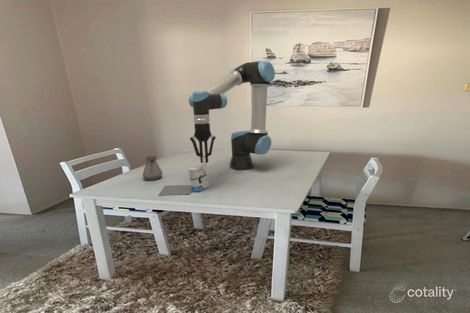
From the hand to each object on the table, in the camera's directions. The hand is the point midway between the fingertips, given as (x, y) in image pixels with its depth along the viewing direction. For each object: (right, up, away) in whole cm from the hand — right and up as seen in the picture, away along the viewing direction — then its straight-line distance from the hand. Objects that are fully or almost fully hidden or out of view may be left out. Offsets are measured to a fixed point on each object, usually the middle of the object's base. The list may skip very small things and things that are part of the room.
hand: (204, 168), depth 154 cm
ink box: (-3, -11, +3) cm, 11 cm away
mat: (-15, -11, +3) cm, 19 cm away
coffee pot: (-32, -8, +20) cm, 38 cm away
